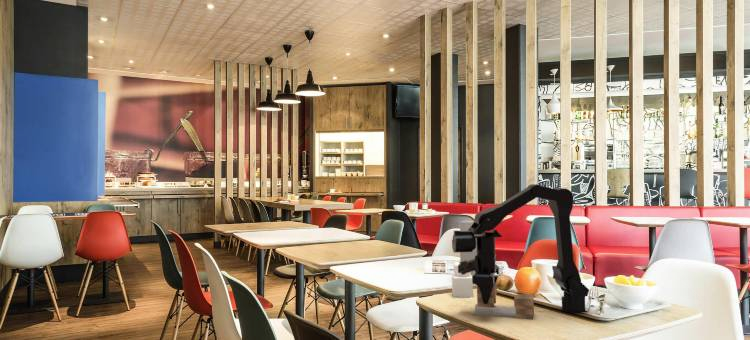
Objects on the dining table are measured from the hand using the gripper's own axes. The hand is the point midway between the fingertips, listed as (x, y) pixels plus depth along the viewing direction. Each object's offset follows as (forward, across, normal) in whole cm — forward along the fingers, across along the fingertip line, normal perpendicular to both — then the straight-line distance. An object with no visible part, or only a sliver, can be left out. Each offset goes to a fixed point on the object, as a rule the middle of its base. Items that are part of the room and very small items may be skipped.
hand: (486, 301), depth 160 cm
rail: (+5, 0, +5) cm, 7 cm away
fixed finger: (+4, 0, +11) cm, 12 cm away
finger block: (+1, 0, 0) cm, 1 cm away
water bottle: (+5, -47, -12) cm, 49 cm away
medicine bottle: (+5, -25, -12) cm, 28 cm away
